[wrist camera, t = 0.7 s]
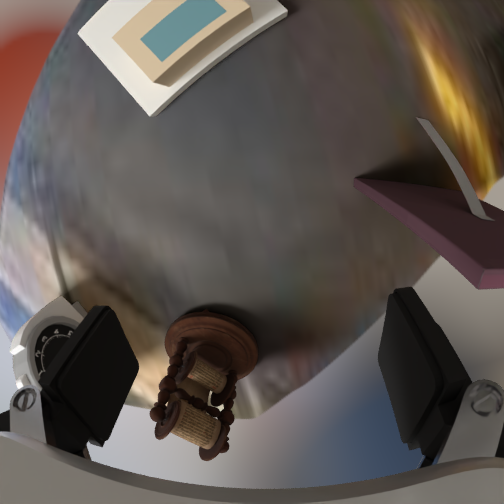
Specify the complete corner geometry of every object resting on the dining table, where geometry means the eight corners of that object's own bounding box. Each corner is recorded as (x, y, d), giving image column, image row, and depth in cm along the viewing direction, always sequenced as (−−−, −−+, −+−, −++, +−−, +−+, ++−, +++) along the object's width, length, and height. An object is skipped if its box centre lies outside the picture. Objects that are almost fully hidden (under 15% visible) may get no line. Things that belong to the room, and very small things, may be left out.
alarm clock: (132, 355, 49) (90, 442, 31) (106, 364, 51) (66, 441, 33) (69, 281, 43) (-2, 356, 25) (48, 297, 45) (-13, 365, 27)
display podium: (197, -57, 20) (194, -64, 18) (287, 16, 25) (287, 10, 23) (85, 35, 26) (77, 33, 24) (156, 116, 31) (149, 116, 30)
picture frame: (353, 186, 34) (471, 305, 11) (358, 107, 29) (511, 100, 7) (459, 198, 33) (588, 290, 10) (467, 130, 29) (616, 175, 6)
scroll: (153, 339, 46) (110, 435, 28) (203, 288, 41) (161, 402, 23) (221, 383, 50) (203, 478, 32) (278, 343, 45) (277, 456, 27)
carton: (210, -17, 22) (200, -35, 17) (253, 22, 24) (250, 6, 20) (131, 46, 26) (111, 37, 21) (169, 87, 28) (152, 82, 24)
